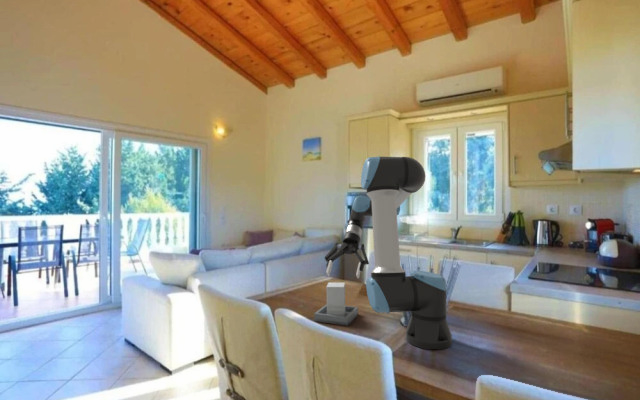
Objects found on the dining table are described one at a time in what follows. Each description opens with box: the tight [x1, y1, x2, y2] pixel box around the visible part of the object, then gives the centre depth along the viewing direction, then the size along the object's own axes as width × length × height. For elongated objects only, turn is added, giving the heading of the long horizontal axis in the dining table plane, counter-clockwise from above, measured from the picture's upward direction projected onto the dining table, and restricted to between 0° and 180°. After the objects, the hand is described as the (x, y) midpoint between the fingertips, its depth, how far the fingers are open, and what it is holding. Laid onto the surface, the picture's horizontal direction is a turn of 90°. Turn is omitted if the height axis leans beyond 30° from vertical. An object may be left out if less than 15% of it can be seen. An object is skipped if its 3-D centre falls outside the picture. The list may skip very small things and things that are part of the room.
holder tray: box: [313, 303, 359, 327], centre depth 141 cm, size 14×14×3 cm
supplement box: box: [326, 282, 346, 317], centre depth 141 cm, size 7×7×13 cm
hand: (342, 275), depth 148 cm, fingers open, 13 cm apart
